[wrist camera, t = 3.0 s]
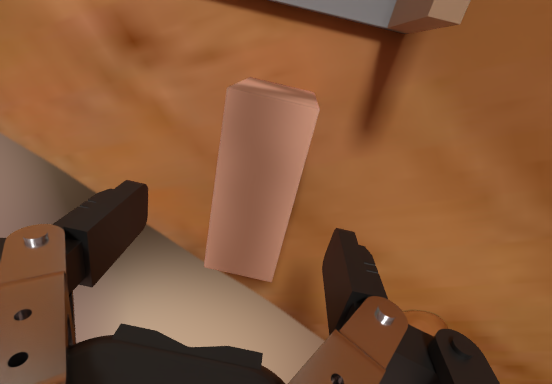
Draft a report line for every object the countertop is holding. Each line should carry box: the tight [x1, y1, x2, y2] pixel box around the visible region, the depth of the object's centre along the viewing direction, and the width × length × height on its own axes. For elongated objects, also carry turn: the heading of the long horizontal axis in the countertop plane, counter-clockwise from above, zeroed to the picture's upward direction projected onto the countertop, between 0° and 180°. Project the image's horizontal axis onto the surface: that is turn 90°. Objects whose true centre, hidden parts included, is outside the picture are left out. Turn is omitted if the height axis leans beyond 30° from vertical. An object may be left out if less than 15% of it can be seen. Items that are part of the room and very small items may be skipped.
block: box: [204, 77, 320, 282], centre depth 17 cm, size 4×10×6 cm, turn 168°
